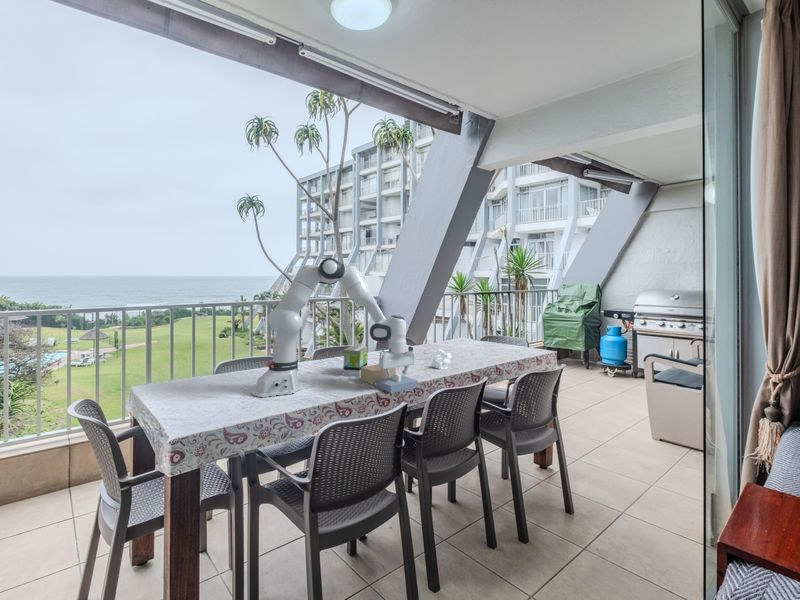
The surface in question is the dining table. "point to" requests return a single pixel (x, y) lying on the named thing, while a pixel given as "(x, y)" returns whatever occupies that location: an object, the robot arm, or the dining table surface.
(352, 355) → the tea box
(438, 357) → the rabbit
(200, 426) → the dining table surface
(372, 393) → the dining table surface
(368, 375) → the mailer box
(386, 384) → the mailer lid
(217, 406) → the dining table surface
